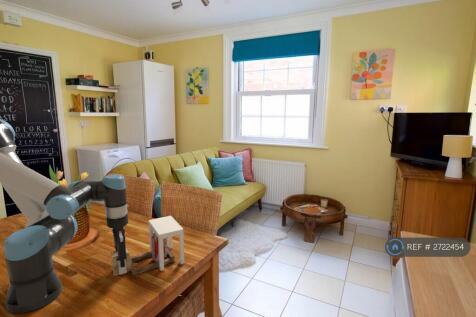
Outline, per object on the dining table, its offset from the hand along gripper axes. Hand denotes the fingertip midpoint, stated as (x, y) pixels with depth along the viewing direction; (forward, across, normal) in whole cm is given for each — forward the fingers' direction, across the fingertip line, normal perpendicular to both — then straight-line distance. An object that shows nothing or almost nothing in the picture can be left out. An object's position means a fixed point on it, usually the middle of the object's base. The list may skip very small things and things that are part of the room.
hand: (121, 270), depth 104 cm
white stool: (+1, 0, -18) cm, 18 cm away
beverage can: (+1, 0, -15) cm, 15 cm away
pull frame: (0, 0, -8) cm, 8 cm away
